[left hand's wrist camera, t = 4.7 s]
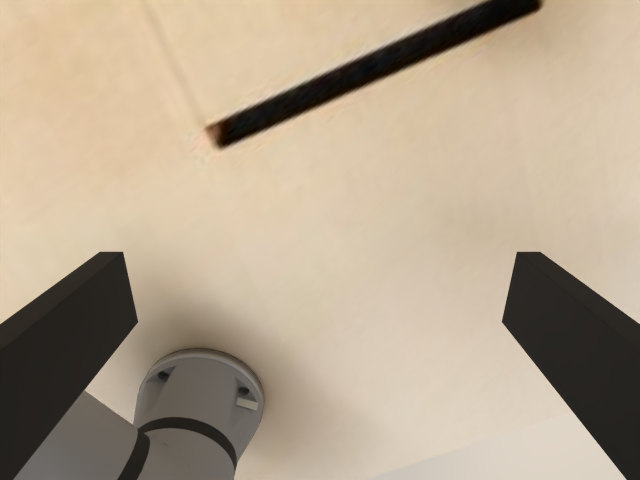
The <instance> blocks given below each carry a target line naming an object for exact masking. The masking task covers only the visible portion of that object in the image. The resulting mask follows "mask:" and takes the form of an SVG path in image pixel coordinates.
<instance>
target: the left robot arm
mask: <svg viewBox="0 0 640 480" xmlns="http://www.w3.org/2000/svg"><path fill="white" fill-rule="evenodd" d="M137 323H138V319H137V315H136V310H135V305H134V301H133V296H132V291H131V287H130V282H129V278H128V273H127V268H126V264H125V259H124V254H123V252H99V253H98V254H96V255H95V256H94V257H92V258H91V259H89V260H88V261H87V262H85V263H84V264H83V265H81V266H80V267H78V268H77V269H76V270H74V271H73V272H72V273H70V274H69V275H67V276H66V277H65V278H63V279H62V280H61V281H59V282H58V283H56V284H55V285H54V286H52V287H51V288H50V289H48V290H47V291H45V292H44V293H43V294H41V295H40V296H39V297H37V298H36V299H34V300H33V301H32V302H30V303H29V304H27V305H26V306H25V307H23V308H22V309H21V310H19V311H18V312H16V313H15V314H14V315H12V316H11V317H10V318H8V319H7V320H5V321H4V322H3V323H1V324H0V480H234V475H235V470H236V466H237V462H238V460H239V459H240V457H241V455H242V454H243V452H244V450H245V449H246V447H247V445H248V444H249V442H250V440H251V439H252V437H253V435H254V434H255V432H256V430H257V428H258V426H259V424H260V421H261V418H262V413H263V407H264V393H263V389H262V386H261V384H260V382H259V380H258V378H257V377H256V375H255V374H254V373H253V372H252V371H251V369H250V368H248V367H247V366H246V365H245V364H244V363H242V362H241V361H239V360H238V359H236V358H234V357H232V356H230V355H228V354H225V353H222V352H219V351H215V350H209V349H186V350H181V351H177V352H174V353H172V354H169V355H167V356H165V357H164V358H162V359H161V360H159V361H158V362H157V363H156V364H155V365H154V366H153V367H152V368H151V369H150V371H149V372H148V374H147V375H146V377H145V379H144V380H143V382H142V384H141V386H140V389H139V393H138V396H137V403H136V409H135V416H134V422H133V425H132V424H131V423H129V422H128V421H126V420H125V419H124V418H122V417H121V416H119V415H118V414H116V413H115V412H114V411H112V410H111V409H109V408H108V407H107V406H105V405H104V404H103V403H101V402H100V401H98V400H97V399H96V398H94V397H93V396H91V395H90V394H89V393H87V392H86V391H85V388H86V387H87V386H88V385H89V383H90V382H91V381H92V380H93V378H94V377H95V376H96V374H97V373H98V372H99V371H100V369H101V368H102V367H103V366H104V364H105V363H106V362H107V361H108V359H109V358H110V357H111V356H112V354H113V353H114V352H115V350H116V349H117V348H118V347H119V345H120V344H121V343H122V342H123V340H124V339H125V338H126V337H127V335H128V334H129V333H130V331H131V330H132V329H133V328H134V326H135V325H136V324H137ZM502 323H503V324H504V325H505V326H506V328H507V329H508V330H509V331H510V333H511V334H512V335H513V337H514V338H515V339H516V340H517V342H518V343H519V344H520V345H521V347H522V348H523V349H524V350H525V352H526V353H527V354H528V356H529V357H530V358H531V359H532V361H533V362H534V363H535V364H536V366H537V367H538V368H539V369H540V371H541V372H542V373H543V374H544V376H545V377H546V378H547V380H548V381H549V382H550V383H551V385H552V386H553V387H554V388H555V390H556V391H557V392H558V393H559V395H560V396H561V397H562V398H563V400H564V401H565V402H566V404H567V405H568V406H569V407H570V409H571V410H572V411H573V412H574V414H575V415H576V416H577V417H578V419H579V420H580V421H581V422H582V424H583V425H584V426H585V428H586V429H587V430H588V431H589V433H590V434H591V435H592V436H593V438H594V439H595V440H596V441H597V443H598V444H599V445H600V446H601V448H602V449H603V450H604V452H605V453H606V454H607V455H608V457H609V458H610V459H611V460H612V462H613V463H614V464H615V465H616V467H617V468H618V469H619V471H620V472H621V473H622V474H623V476H624V477H625V478H626V479H627V480H640V324H639V323H637V322H636V321H635V320H633V319H632V318H630V317H629V316H628V315H626V314H625V313H624V312H622V311H621V310H619V309H618V308H617V307H615V306H614V305H613V304H611V303H610V302H608V301H607V300H606V299H604V298H603V297H601V296H600V295H599V294H597V293H596V292H595V291H593V290H592V289H590V288H589V287H588V286H586V285H585V284H584V283H582V282H581V281H579V280H578V279H577V278H575V277H574V276H573V275H571V274H570V273H568V272H567V271H566V270H564V269H563V268H562V267H560V266H559V265H557V264H556V263H555V262H553V261H552V260H551V259H549V258H548V257H546V256H545V255H544V254H542V253H541V252H517V254H516V259H515V264H514V268H513V273H512V278H511V282H510V287H509V291H508V296H507V301H506V305H505V310H504V315H503V319H502Z"/></svg>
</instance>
